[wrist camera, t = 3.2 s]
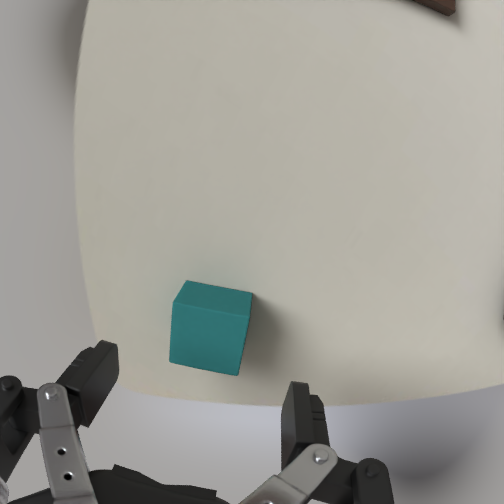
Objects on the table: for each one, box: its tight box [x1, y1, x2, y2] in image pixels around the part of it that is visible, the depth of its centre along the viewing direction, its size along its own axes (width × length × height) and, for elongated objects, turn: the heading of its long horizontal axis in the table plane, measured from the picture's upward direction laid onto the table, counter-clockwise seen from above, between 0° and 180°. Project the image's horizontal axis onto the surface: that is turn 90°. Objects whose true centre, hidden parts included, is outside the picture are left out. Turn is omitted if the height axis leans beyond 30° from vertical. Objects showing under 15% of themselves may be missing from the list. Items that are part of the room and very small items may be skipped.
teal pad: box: [169, 281, 252, 376], centre depth 18 cm, size 4×4×3 cm
